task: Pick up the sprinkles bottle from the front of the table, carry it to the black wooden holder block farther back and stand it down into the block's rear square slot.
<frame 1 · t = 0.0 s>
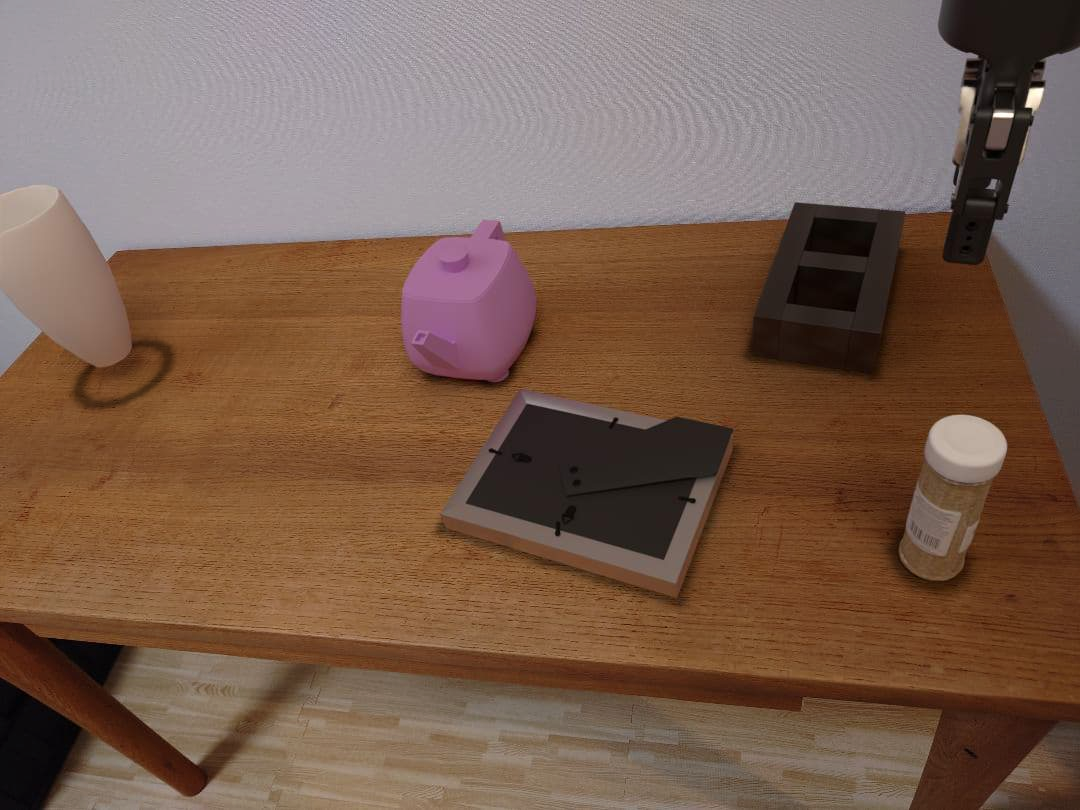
hand: (966, 221, 50), 24 cm above the table, tool pointing down, fingers open, 8 cm apart
holder: (828, 300, 83), on the table
sprinkles bottle: (928, 558, 60), on the table
peach conical vase: (125, 373, 93), on the table
picture frame: (590, 490, 70), on the table
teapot: (479, 354, 85), on the table
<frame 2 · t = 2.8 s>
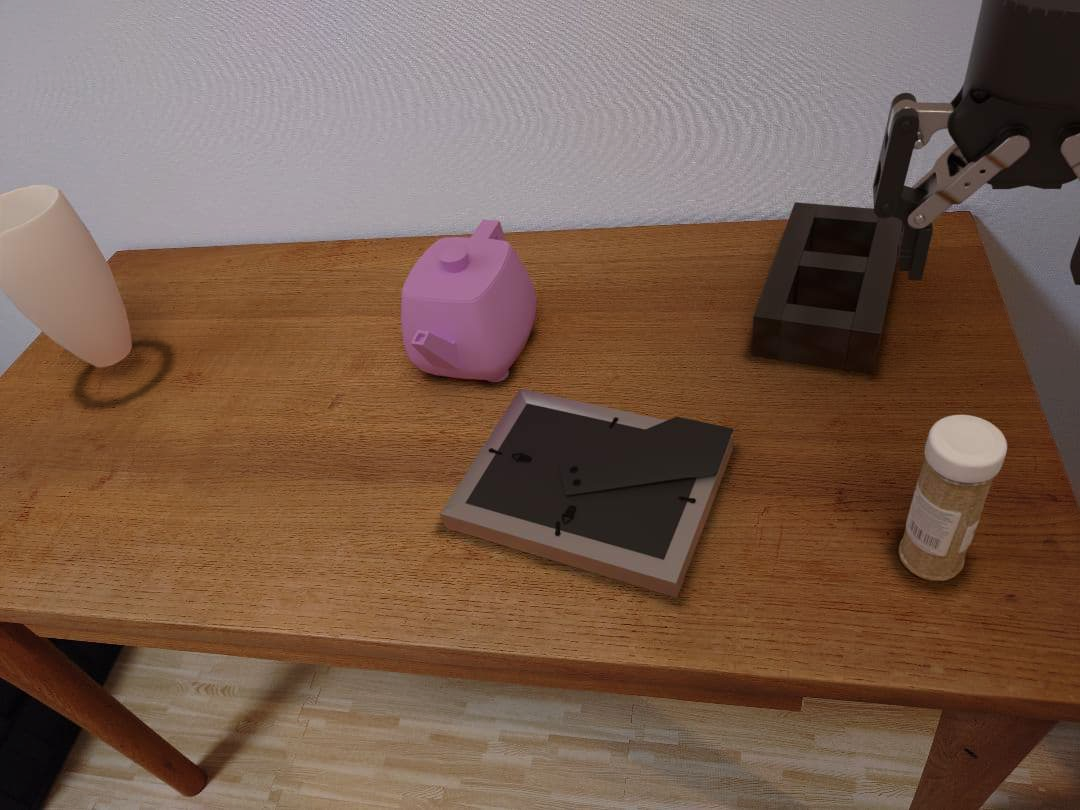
hand: (994, 274, 46), 24 cm above the table, tool pointing down, fingers open, 8 cm apart
nothing on the table moved.
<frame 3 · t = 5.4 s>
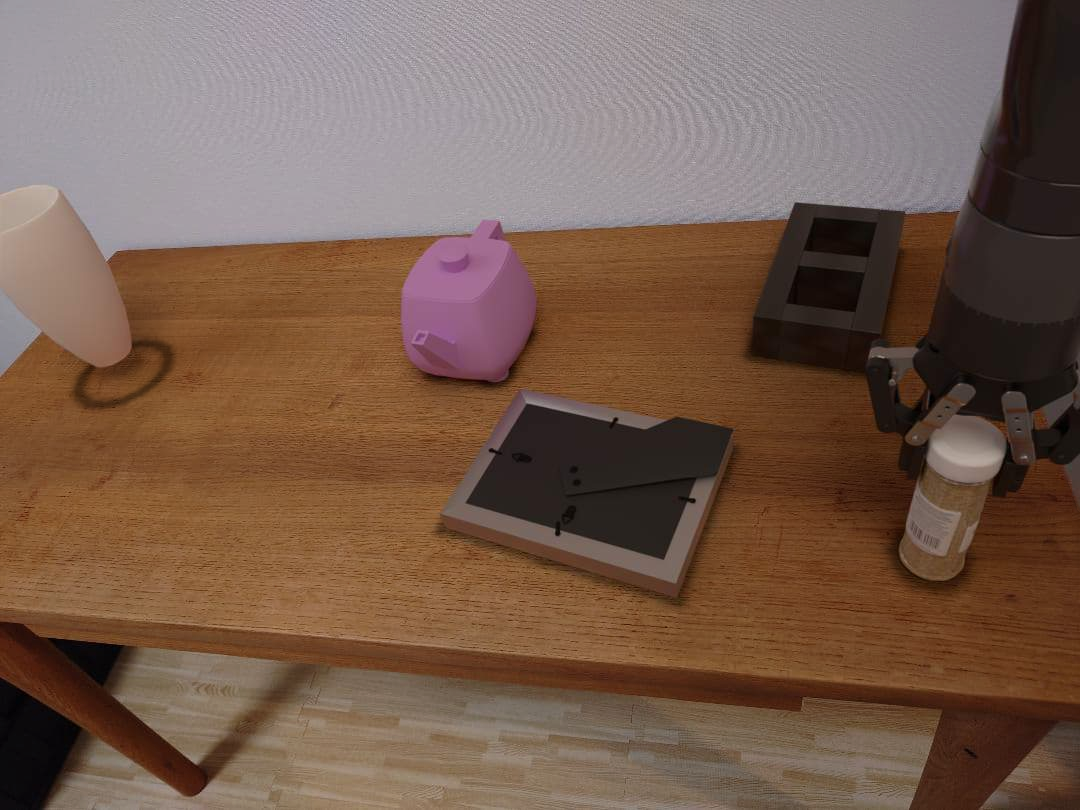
hand: (955, 478, 54), 9 cm above the table, tool pointing down, fingers closed on sprinkles bottle, 4 cm apart
sprinkles bottle: (928, 558, 60), on the table, touching gripper
everything else where it was.
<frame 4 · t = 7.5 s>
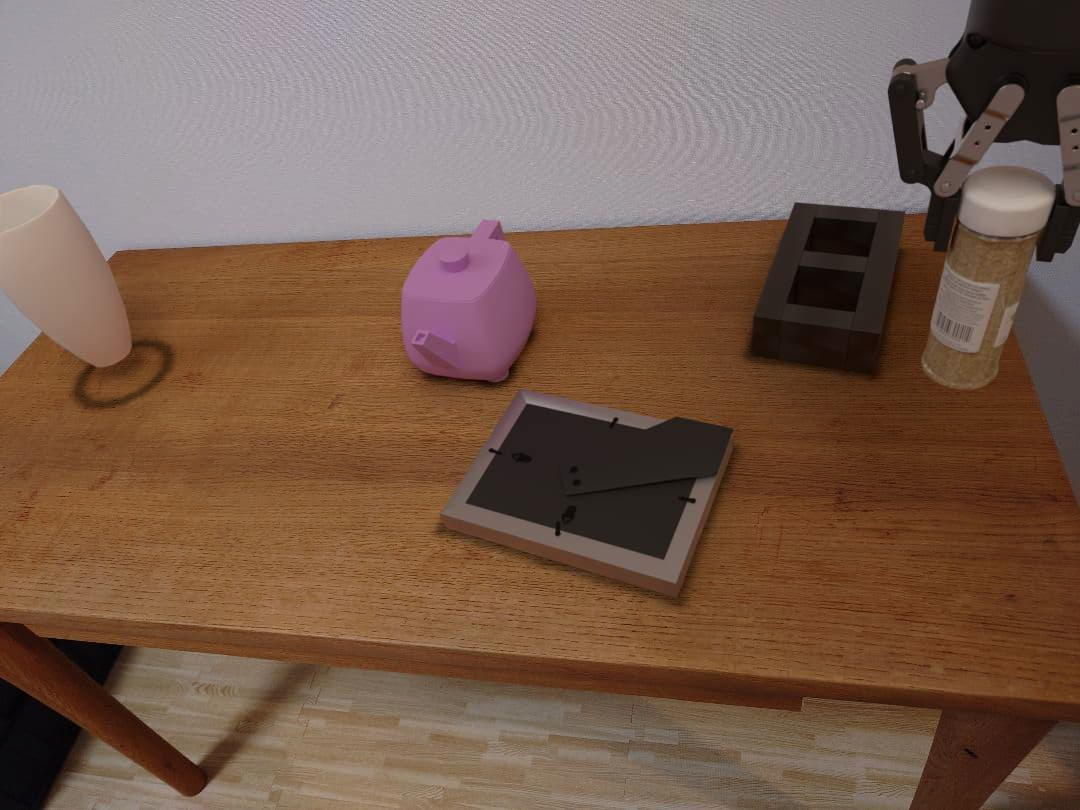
hand: (991, 247, 46), 25 cm above the table, tool pointing down, fingers closed on sprinkles bottle, 4 cm apart
sprinkles bottle: (956, 370, 52), point 16 cm above the table, touching gripper
everything else where it was.
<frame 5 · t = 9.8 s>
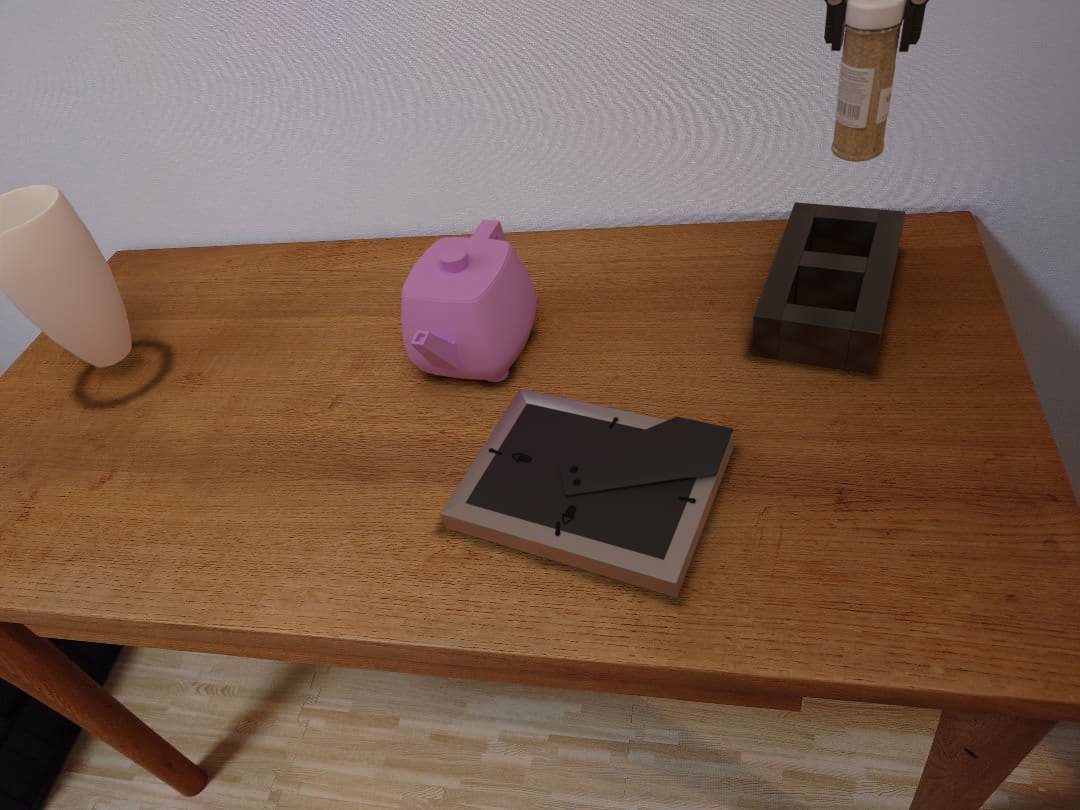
hand: (870, 46, 66), 25 cm above the table, tool pointing down, fingers closed on sprinkles bottle, 4 cm apart
sprinkles bottle: (856, 153, 73), point 16 cm above the table, touching gripper
everything else where it was.
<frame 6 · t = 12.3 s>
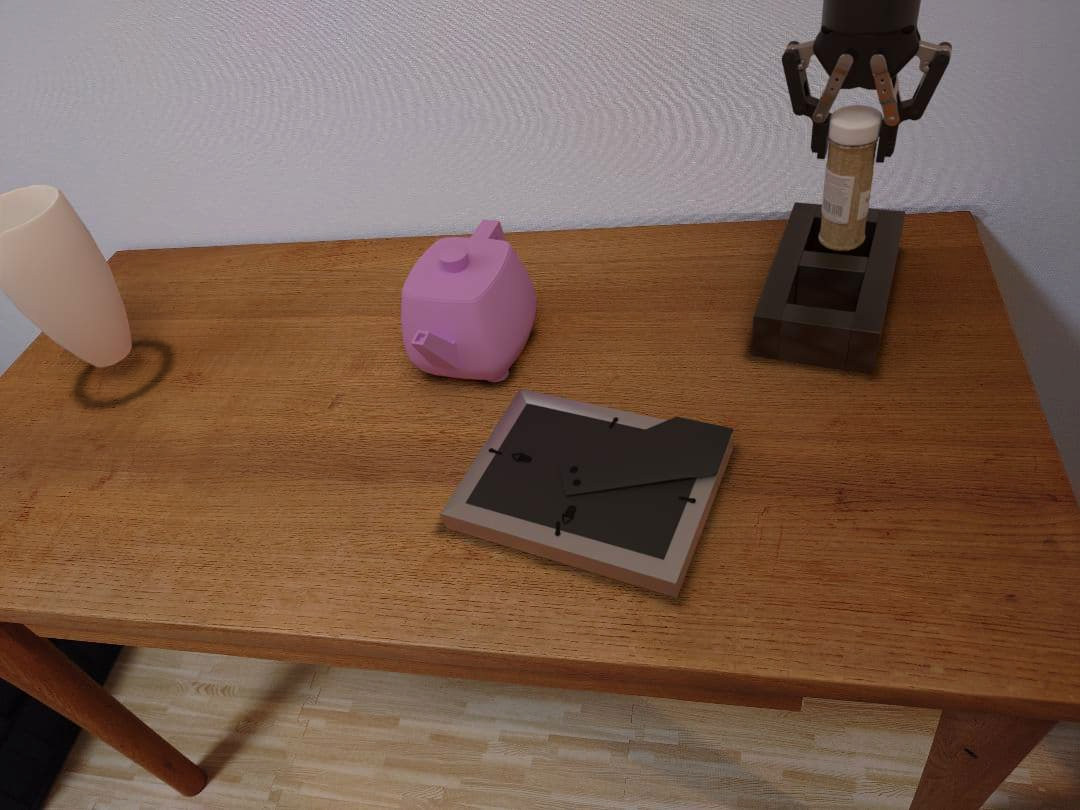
hand: (851, 156, 75), 14 cm above the table, tool pointing down, fingers closed on sprinkles bottle, 4 cm apart
sprinkles bottle: (840, 241, 82), point 4 cm above the table, touching gripper
everything else where it was.
when the fingers open (9 cm above the table, at t = 14.3 s): sprinkles bottle stays where it is, resting in holder.
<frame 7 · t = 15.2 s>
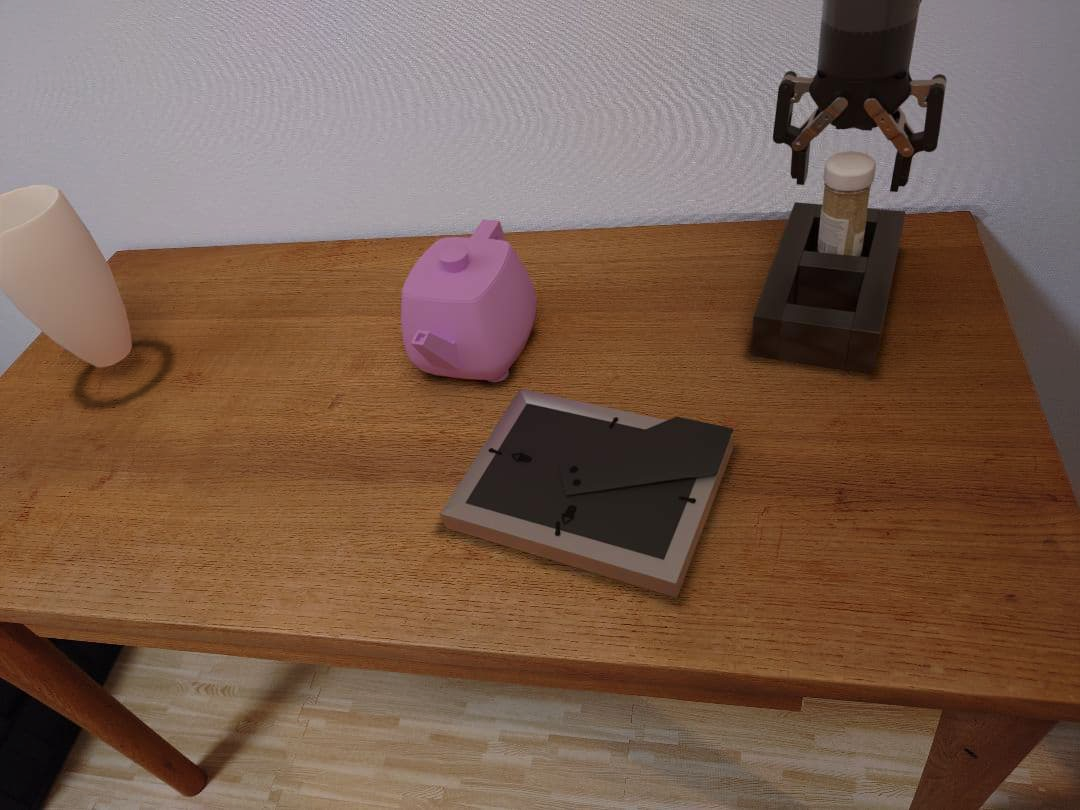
hand: (847, 184, 78), 11 cm above the table, tool pointing down, fingers open, 8 cm apart
sprinkles bottle: (835, 278, 85), resting in holder
everything else where it was.
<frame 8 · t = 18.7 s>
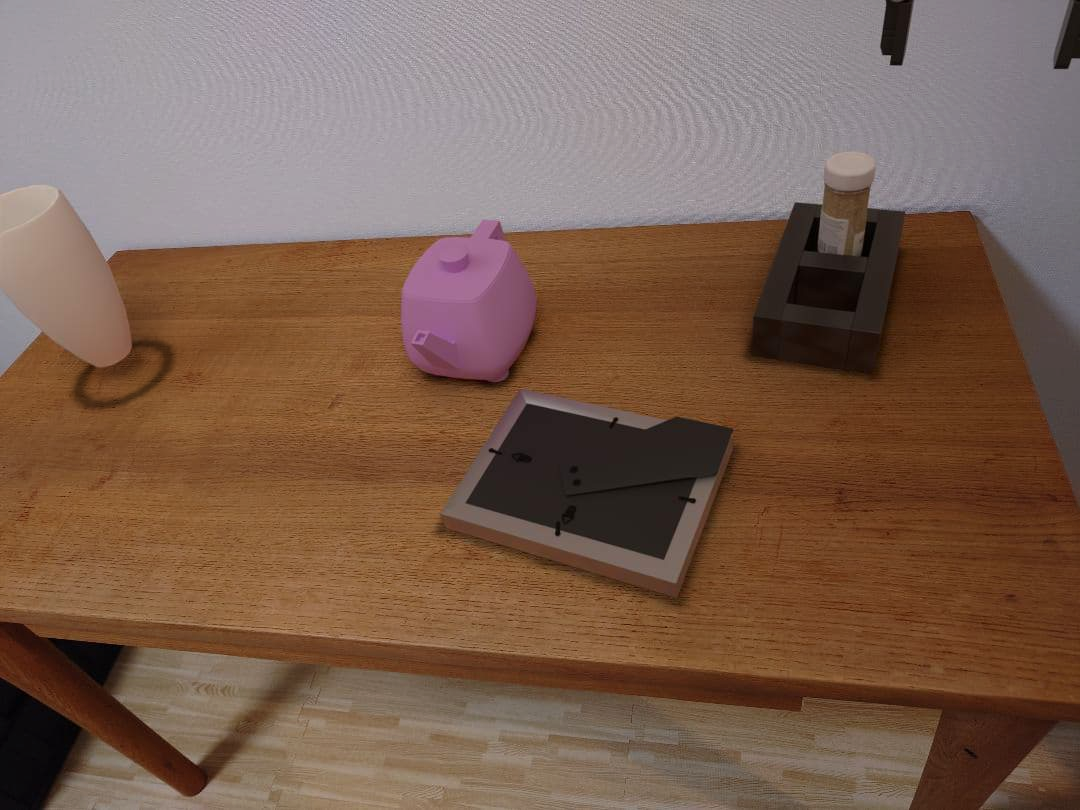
hand: (976, 62, 47), 32 cm above the table, tool pointing down, fingers open, 8 cm apart
nothing on the table moved.
at the end: sprinkles bottle 0.2 cm from the target spot in the holder, point 0.0 cm above the holder's base; sprinkles bottle tilted 0°; the gripper is holding nothing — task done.
